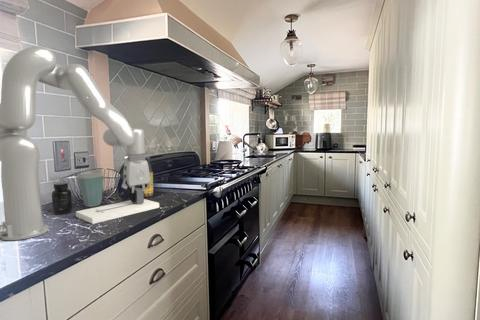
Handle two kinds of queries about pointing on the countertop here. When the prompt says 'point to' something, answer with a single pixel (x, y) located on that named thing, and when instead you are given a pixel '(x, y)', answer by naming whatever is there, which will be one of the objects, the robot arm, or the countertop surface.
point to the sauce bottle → (149, 188)
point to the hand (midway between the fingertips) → (137, 200)
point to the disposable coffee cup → (91, 187)
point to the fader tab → (139, 195)
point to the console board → (115, 211)
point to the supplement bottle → (61, 199)
